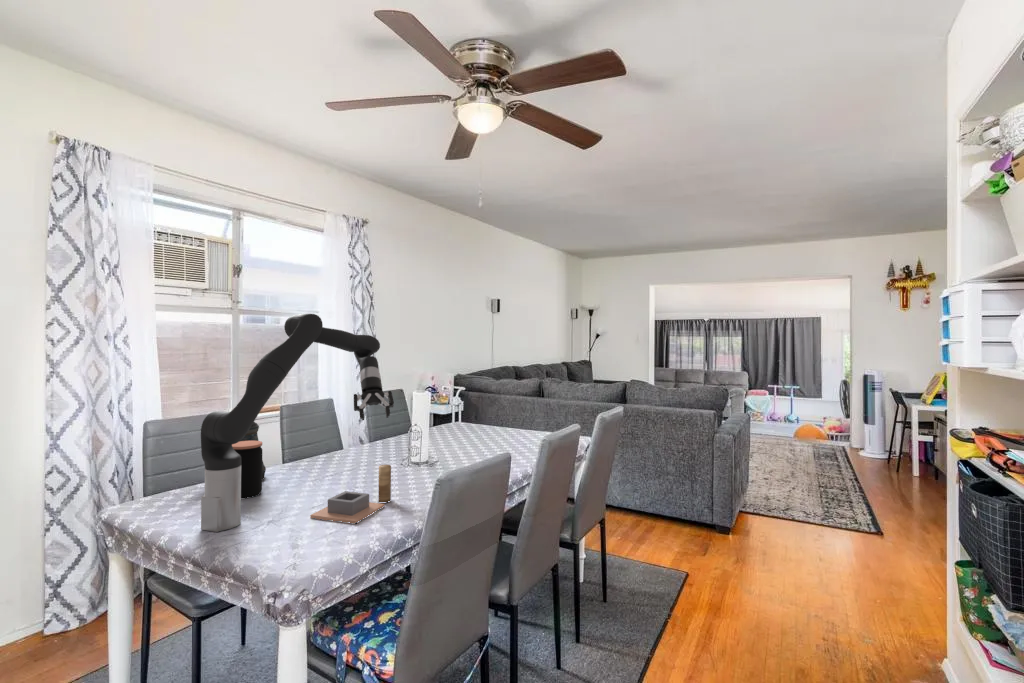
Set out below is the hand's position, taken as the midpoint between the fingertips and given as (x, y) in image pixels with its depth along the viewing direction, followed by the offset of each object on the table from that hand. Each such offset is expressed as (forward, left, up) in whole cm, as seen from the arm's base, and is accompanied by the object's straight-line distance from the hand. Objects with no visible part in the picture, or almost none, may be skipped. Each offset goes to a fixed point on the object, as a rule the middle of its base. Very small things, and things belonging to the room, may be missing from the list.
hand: (375, 417), depth 179 cm
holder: (-23, -5, -26) cm, 35 cm away
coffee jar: (-19, +40, -27) cm, 52 cm away
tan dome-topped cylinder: (-10, -10, -26) cm, 30 cm away
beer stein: (-6, +56, -27) cm, 62 cm away
